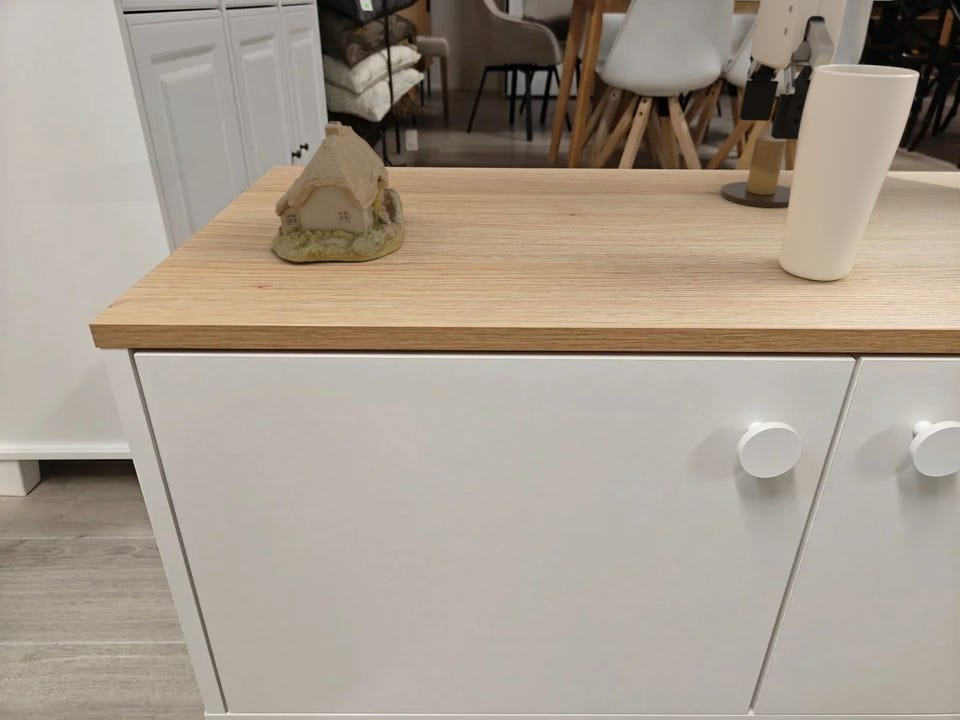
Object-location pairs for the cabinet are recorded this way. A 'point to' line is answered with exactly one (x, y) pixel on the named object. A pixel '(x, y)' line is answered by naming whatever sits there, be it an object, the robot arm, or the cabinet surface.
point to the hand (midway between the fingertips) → (770, 128)
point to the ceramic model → (340, 204)
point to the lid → (762, 177)
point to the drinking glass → (842, 163)
